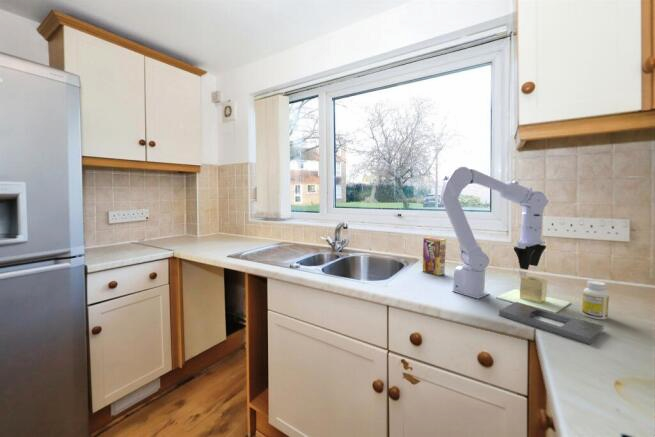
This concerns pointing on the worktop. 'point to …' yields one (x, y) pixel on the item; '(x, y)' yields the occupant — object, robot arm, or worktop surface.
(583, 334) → the iron frame
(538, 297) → the tan rectangular block
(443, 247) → the candy box
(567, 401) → the worktop surface
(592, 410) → the worktop surface
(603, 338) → the worktop surface
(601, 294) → the supplement bottle
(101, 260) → the worktop surface
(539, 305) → the sage mat
